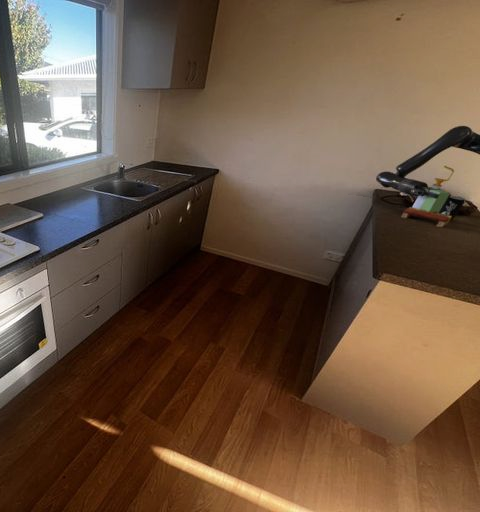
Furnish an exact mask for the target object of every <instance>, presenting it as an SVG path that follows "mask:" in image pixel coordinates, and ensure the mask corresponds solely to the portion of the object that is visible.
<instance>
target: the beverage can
mask: <svg viewBox="0 0 480 512" xmlns="http://www.w3.org/2000/svg"><path fill="white" fill-rule="evenodd" d="M465 201H466V198H465V197H462V196H457V195H451V196H450V198H449V199H447V200H446V201H445V203H444V204H443V206H442V208H441V209H440V211H439V212H436V213H440V214H444V215H449V216H452V218H451V219H450V221H449V222H451V221H454V219H455V217H456V216H457V214H458V213H459V212H460V211H459V210H460V208H461V207H462V206H464V203H465Z"/></svg>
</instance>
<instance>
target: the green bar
mask: <svg viewBox="0 0 480 512" xmlns="http://www.w3.org/2000/svg"><path fill="white" fill-rule="evenodd" d="M443 190H444V189H441V190H430V192H433V193H436V194H439V196H438V198H437V199H435V198H432V197H426V199H425V200H424V202H423V204H422V206H421V207H420V209H423V210H426V211H429V212H435V213H437V212H439V211H440V209H441V208H442V206H443V204H444V203H445V201H446V200H447V198H448V196H449V195H450V194H451V192H450V191H447V190H444V191H443Z"/></svg>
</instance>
